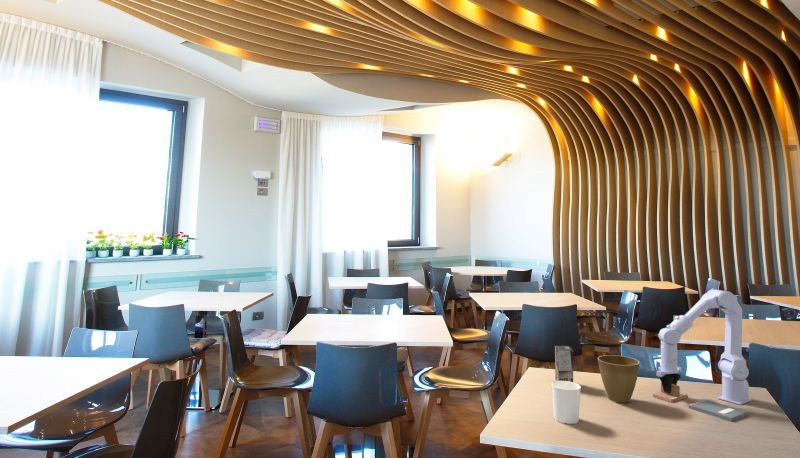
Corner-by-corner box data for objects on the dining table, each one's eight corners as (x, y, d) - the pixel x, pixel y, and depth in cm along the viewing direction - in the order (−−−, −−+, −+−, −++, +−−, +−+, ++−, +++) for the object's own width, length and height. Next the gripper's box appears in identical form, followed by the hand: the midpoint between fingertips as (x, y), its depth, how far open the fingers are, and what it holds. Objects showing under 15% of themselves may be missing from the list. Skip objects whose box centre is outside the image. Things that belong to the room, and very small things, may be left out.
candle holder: (580, 416, 157) (580, 382, 157) (582, 426, 148) (581, 391, 148) (551, 412, 160) (551, 379, 161) (551, 422, 151) (551, 387, 151)
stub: (669, 391, 183) (669, 379, 183) (687, 397, 177) (687, 384, 177) (652, 396, 177) (652, 384, 177) (671, 402, 171) (671, 389, 171)
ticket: (705, 402, 171) (705, 399, 171) (747, 415, 159) (747, 411, 159) (688, 408, 165) (688, 404, 165) (731, 421, 153) (731, 417, 153)
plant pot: (611, 391, 184) (611, 353, 184) (647, 402, 171) (647, 361, 171) (590, 397, 176) (589, 357, 176) (625, 410, 163) (625, 367, 163)
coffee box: (573, 388, 186) (573, 350, 187) (558, 387, 188) (558, 349, 188) (570, 382, 195) (569, 345, 196) (554, 380, 196) (554, 344, 197)
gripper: (669, 354, 185) (669, 386, 185) (648, 358, 178) (649, 391, 177) (686, 357, 179) (687, 391, 178) (666, 362, 172) (666, 397, 171)
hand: (669, 392), depth 177 cm, fingers closed on stub, 2 cm apart
